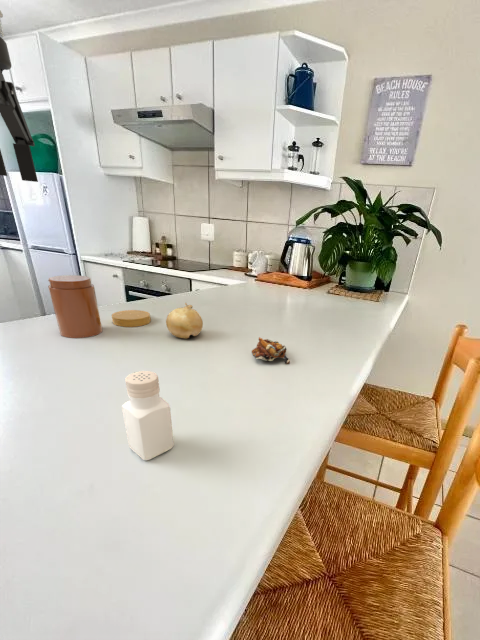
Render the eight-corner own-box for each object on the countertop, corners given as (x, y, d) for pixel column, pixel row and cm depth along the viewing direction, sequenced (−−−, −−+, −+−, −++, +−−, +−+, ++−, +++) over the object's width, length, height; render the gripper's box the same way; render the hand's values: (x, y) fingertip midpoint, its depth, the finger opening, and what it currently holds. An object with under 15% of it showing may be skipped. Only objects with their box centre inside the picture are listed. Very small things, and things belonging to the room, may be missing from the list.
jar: (67, 326, 74) (54, 274, 68) (106, 326, 76) (96, 275, 70) (54, 338, 67) (39, 281, 61) (97, 337, 69) (86, 282, 64)
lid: (152, 316, 85) (151, 310, 84) (149, 326, 78) (148, 319, 77) (116, 316, 83) (114, 309, 82) (109, 327, 75) (108, 319, 75)
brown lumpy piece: (277, 343, 74) (278, 328, 73) (291, 364, 64) (293, 347, 63) (247, 343, 73) (247, 328, 71) (256, 365, 62) (257, 348, 61)
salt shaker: (158, 434, 41) (149, 366, 37) (176, 448, 39) (169, 377, 35) (127, 448, 38) (113, 376, 34) (144, 464, 36) (132, 389, 32)
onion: (203, 341, 72) (202, 310, 69) (165, 341, 70) (162, 309, 67) (203, 330, 79) (202, 301, 75) (168, 330, 77) (166, 300, 74)
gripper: (-42, -5, 45) (6, 174, 55) (34, 64, 66) (59, 184, 76) (-111, -20, 43) (-48, 168, 53) (-10, 56, 64) (21, 181, 74)
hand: (15, 178), depth 64 cm, fingers open, 13 cm apart
